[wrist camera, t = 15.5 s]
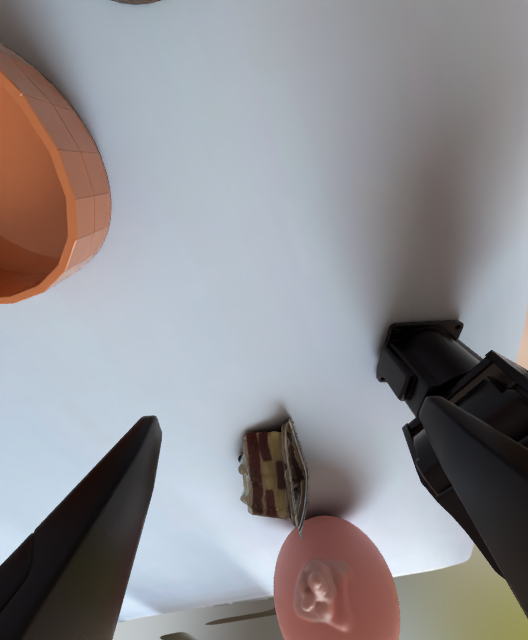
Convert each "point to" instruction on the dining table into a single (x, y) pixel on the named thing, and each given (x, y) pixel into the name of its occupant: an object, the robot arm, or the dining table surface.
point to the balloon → (334, 585)
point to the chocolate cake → (275, 475)
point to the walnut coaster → (136, 1)
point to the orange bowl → (45, 185)
